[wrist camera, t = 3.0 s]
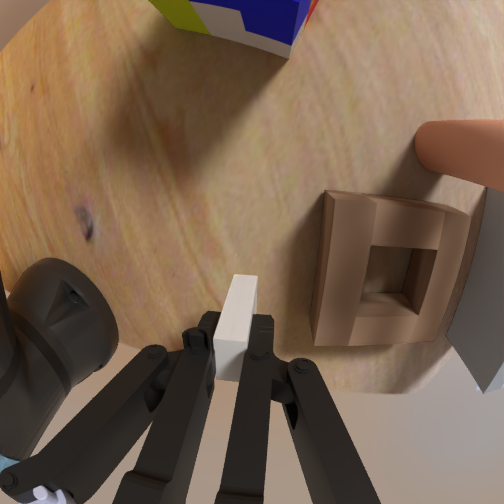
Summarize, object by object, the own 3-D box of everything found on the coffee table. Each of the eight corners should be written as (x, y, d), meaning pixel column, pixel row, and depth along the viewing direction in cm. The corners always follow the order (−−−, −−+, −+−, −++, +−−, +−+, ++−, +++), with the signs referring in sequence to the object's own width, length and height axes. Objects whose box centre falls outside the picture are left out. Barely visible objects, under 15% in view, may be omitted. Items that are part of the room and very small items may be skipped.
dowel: (412, 167, 20) (535, 206, 7) (415, 116, 18) (540, 110, 5) (451, 175, 20) (569, 219, 7) (454, 127, 18) (575, 139, 5)
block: (309, 318, 26) (313, 345, 22) (324, 189, 21) (335, 199, 18) (418, 317, 25) (433, 340, 21) (447, 204, 21) (471, 216, 17)
